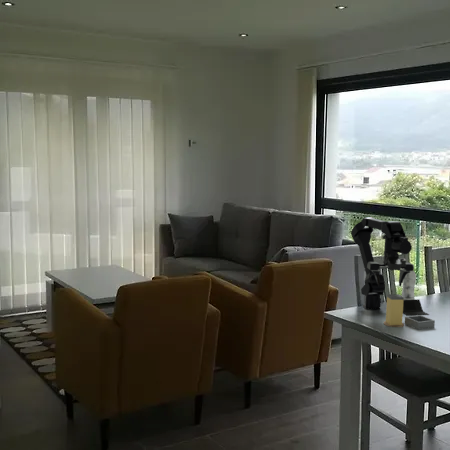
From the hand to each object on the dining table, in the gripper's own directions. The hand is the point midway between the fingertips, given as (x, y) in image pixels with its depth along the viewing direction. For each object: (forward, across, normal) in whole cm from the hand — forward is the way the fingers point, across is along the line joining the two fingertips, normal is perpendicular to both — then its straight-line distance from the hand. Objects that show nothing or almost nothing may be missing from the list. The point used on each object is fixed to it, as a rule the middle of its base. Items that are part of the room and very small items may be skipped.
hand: (389, 285), depth 261 cm
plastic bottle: (+13, +13, +14) cm, 23 cm away
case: (+13, +6, -14) cm, 20 cm away
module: (+12, -2, -16) cm, 20 cm away
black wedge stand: (+14, +12, +3) cm, 18 cm away
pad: (+13, -2, -16) cm, 21 cm away
